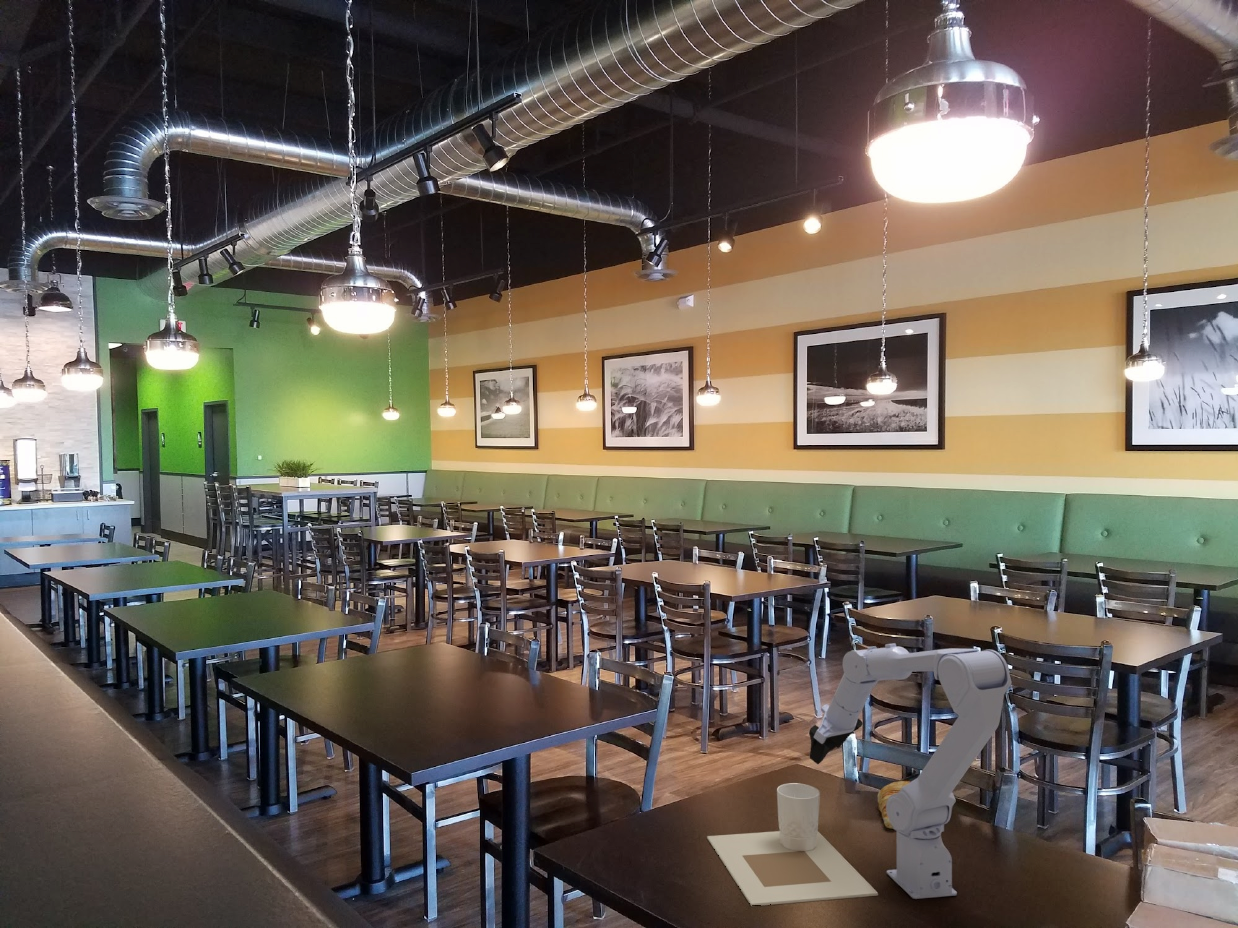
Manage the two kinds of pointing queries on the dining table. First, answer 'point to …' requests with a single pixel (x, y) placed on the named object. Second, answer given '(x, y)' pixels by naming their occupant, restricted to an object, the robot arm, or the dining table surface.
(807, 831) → the white cup
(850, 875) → the placemat
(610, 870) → the dining table surface
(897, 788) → the croissant
